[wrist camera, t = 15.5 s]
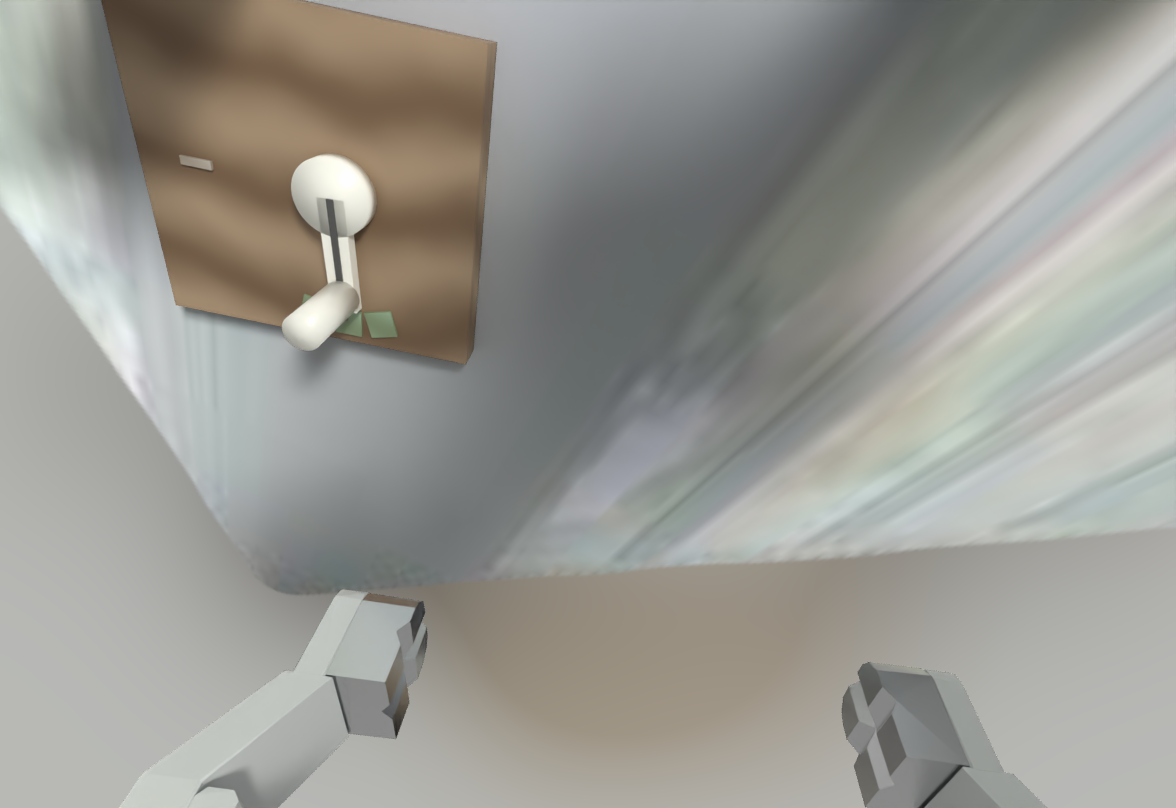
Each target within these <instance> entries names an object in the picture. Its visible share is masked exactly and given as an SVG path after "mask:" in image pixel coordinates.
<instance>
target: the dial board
mask: <svg viewBox="0 0 1176 808" xmlns="http://www.w3.org/2000/svg"><path fill="white" fill-rule="evenodd" d="M101 1H102V5H103V9H104V13H105V17H106V21H107V25H108V30H109V34H110V38H111V42H112V46H113V50H114V54H115V58H116V62H117V66H118V70H119V74H120V79H121V83H122V87H123V91H124V95H125V99H126V103H127V107H128V111H129V115H130V119H131V123H132V128H133V132H134V136H135V140H136V144H137V148H138V152H139V156H140V160H141V164H142V168H143V173H144V177H145V181H146V185H147V189H148V193H149V197H150V201H151V205H152V209H153V213H154V217H155V222H156V226H157V230H158V234H159V238H160V242H161V246H162V250H163V254H164V258H165V262H166V267H167V271H168V275H169V279H170V283H171V287H172V291H173V295H174V299H175V303H176V305H178V306H183V307H188V308H193V309H198V310H203V311H208V312H212V313H217V314H222V315H227V316H232V317H237V318H242V319H247V320H252V321H256V322H261V323H266V324H271V325H276V326H281V327H282V323H283V321H284V320H285V318H287V317H288V316H289V315H290V314H291V313H293V312H294V311H295V310H296V309H298V308H299V307H300V306H301V305H303V304H304V303H305V302H306V301H307V300H309V299H310V298H311V297H312V296H314V295H315V294H316V293H317V292H318V291H320V290H321V289H322V288H323V287H325V286H326V285H327V284H328V280H327V273H326V266H325V259H324V251H323V244H322V237H321V232H319V231H317V230H316V229H314V228H313V227H312V226H310V225H309V224H308V223H307V222H306V221H305V220H304V219H303V217H302V216H301V215H300V213H299V211H298V210H297V208H296V206H295V204H294V201H293V198H292V193H291V181H292V177H293V174H294V172H295V170H296V168H297V167H298V166H299V165H300V164H301V163H302V162H304V161H306V160H308V159H311V158H313V157H315V156H318V155H320V154H325V153H334V154H339V155H342V156H345V157H347V158H349V159H351V160H352V161H354V162H355V163H356V164H358V165H359V166H360V167H361V168H362V169H363V170H364V171H365V173H366V174H367V175H368V177H369V178H370V180H371V182H372V184H373V187H374V189H375V193H376V199H377V205H376V211H375V214H374V217H373V219H372V220H371V221H370V223H369V224H368V225H366V226H365V227H364V228H362V229H361V230H360V231H358V232H357V233H355V234H354V240H355V250H356V259H357V268H358V278H359V287H360V296H361V305H362V309H361V310H360V311H359V312H358V313H352V314H351V315H350V316H349V317H348V321H344V322H343V323H342V324H341V325H340V326H339V327H338V328H337V329H336V330H335V331H334V332H333V333H332V334H331V335H330V337H335V338H340V339H344V340H349V341H354V342H359V343H364V344H369V345H374V346H379V347H384V348H388V349H393V350H398V351H403V352H408V353H413V354H418V355H423V356H428V357H432V358H437V359H442V360H447V361H452V362H457V363H462V364H466V363H467V361H468V359H469V358H470V356H471V354H472V352H473V349H474V336H475V323H476V310H477V297H478V284H479V271H480V258H481V245H482V232H483V219H484V206H485V193H486V180H487V167H488V154H489V141H490V127H491V114H492V101H493V88H494V75H495V62H496V49H497V42H493V41H488V40H484V39H479V38H475V37H470V36H465V35H461V34H456V33H452V32H447V31H442V30H438V29H433V28H428V27H424V26H419V25H415V24H410V23H405V22H401V21H396V20H391V19H387V18H382V17H378V16H373V15H368V14H364V13H359V12H355V11H350V10H345V9H341V8H336V7H331V6H327V5H322V4H318V3H313V2H308V1H304V0H101Z"/></svg>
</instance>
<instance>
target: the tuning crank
mask: <svg viewBox="0 0 1176 808" xmlns="http://www.w3.org/2000/svg"><path fill="white" fill-rule="evenodd" d="M291 193H292V198H293V201H294V204H295V206H296V208H297V210H298V211H299V213H300V215H301V216H302V217H303V219H304V220H305V221H306V222H307V223H308V224H309V225H310V226H312V227H313V228H314V229H316V230H317V231H319V232H321V237H322V244H323V251H324V259H325V266H326V273H327V280H328V284H327V285H326V286H325V287H323V288H322V289H321V290H320V291H318V292H317V293H316V294H315V295H314V296H312V297H311V298H310V299H309V300H307V301H306V302H305V303H304V304H303V305H301V306H300V307H299V308H298V309H296V310H295V311H294V312H293V313H291V314H290V315H289V316H288V317H287V318H285V320H284V321H283V323H282V331H283V334H284V336H285V338H286V339H287V341H288V342H289V343H290V344H292V345H293V346H294V347H296V348H298V349H301V350H304V351H312V350H315V349H316V348H318V347H319V346H320V345H321V344H322V343H323V342H324V341H325V340H326V339H327V338H328V337H329V336H330V335H331V334H332V333H333V332H334V331H335V330H336V329H337V328H338V327H339V326H340V325H341V324H342V323H343V322H344V321H348V317H349V316H350V315H351V314H352V313H358V312H359V311H360V310H361V309H362V305H361V296H360V287H359V278H358V268H357V259H356V250H355V240H354V234H355V233H357V232H358V231H360V230H361V229H362V228H364V227H365V226H366V225H368V224H369V223H370V221H371V220H372V219H373V217H374V214H375V211H376V205H377V199H376V193H375V189H374V187H373V184H372V182H371V180H370V178H369V177H368V175H367V174H366V173H365V171H364V170H363V169H362V168H361V167H360V166H359V165H358V164H356V163H355V162H354V161H352V160H351V159H349V158H347V157H345V156H342V155H339V154H334V153H325V154H320V155H318V156H315V157H313V158H311V159H308V160H306V161H304V162H302V163H301V164H300V165H299V166H298V167H297V168H296V170H295V172H294V174H293V177H292V181H291Z"/></svg>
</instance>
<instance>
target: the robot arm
mask: <svg viewBox="0 0 1176 808" xmlns="http://www.w3.org/2000/svg"><path fill="white" fill-rule="evenodd" d="M424 614H425V608H424V602H423V601H418V600H412V599H404V598H398V597H391V596H385V595H377V594H371V593H367V592H360V591H352V590H345V589H342V590H341V591H340V592H339V593H338V594H337V595H336V596H335V597H334V598H333V600H332V602H331V604H330V606H329V607H328V609H327V611H326V613H325V615H324V616H323V618H322V620H321V622H320V624H319V625H318V627H317V629H316V631H315V633H314V634H313V636H312V638H311V640H310V642H309V643H308V645H307V647H306V649H305V651H304V653H303V654H302V656H301V658H300V660H299V661H298V663H297V665H296V667H295V669H294V670H293V671H288V670H285V671H283V672H282V673H280V674H279V675H278V676H276V677H275V678H273V679H272V680H271V681H269V682H268V683H267V684H265V685H264V686H263V687H261V688H260V689H259V690H257V691H256V692H254V693H253V694H251V695H250V696H249V697H247V698H246V699H244V700H243V701H242V702H240V703H239V704H238V705H236V706H235V707H233V708H232V709H231V710H229V711H228V712H227V713H225V714H224V715H222V716H221V717H220V718H218V719H217V720H215V721H214V722H213V723H211V724H210V725H209V726H207V727H206V728H204V729H203V730H202V731H200V732H199V733H197V734H196V735H195V736H193V737H192V738H191V739H189V740H188V741H186V742H185V743H184V744H182V745H181V746H180V747H178V748H177V749H175V750H174V751H173V752H171V753H170V754H169V755H167V756H166V757H164V758H163V759H162V760H160V761H159V762H157V763H156V764H155V765H153V766H152V767H151V768H149V769H148V770H147V771H145V772H144V773H143V774H142V775H141V776H140V778H139V779H138V781H137V782H136V784H135V785H134V787H133V788H132V790H131V791H130V792H129V794H128V795H127V797H126V798H125V800H124V801H123V803H122V804H121V806H120V807H119V808H278V807H279V806H280V805H281V804H282V803H283V802H284V801H285V800H286V799H287V798H288V797H289V796H290V795H291V794H292V793H293V792H294V791H295V790H296V789H297V788H298V787H299V786H300V785H301V784H302V783H303V782H304V781H305V780H306V779H307V778H308V777H309V776H310V775H311V774H312V773H313V772H314V771H315V770H316V769H317V768H318V767H319V766H320V765H321V764H322V763H323V762H324V761H325V760H326V759H327V758H328V757H329V756H330V755H331V754H332V753H333V752H334V751H335V750H336V749H337V748H338V747H339V746H340V745H341V744H342V743H343V742H344V741H345V740H346V739H347V738H348V737H349V735H348V734H356V735H357V734H358V735H365V736H374V737H383V738H391V739H396V738H397V735H398V732H399V729H400V727H401V724H402V721H403V718H404V716H405V713H406V710H407V707H408V704H409V696H408V688H407V687H408V686H409V685H411V684H412V683H413V682H414V681H415V680H417V679H418V677H419V674H420V670H421V668H422V665H423V661H424V657H425V652H426V648H427V627H426V626H425V625H424V624H423V623H422V619H423V617H424ZM858 676H859V679H860V681H859V682H857V683H855V684H852V685H850V686H849V687H848V689H847V691H846V693H845V695H844V696H843V703H842V719H843V726H844V730H845V734H846V738H847V740H848V741H849V742H850V744H851V745H852V746H853V747H854V748H855V750H856V751H857V752H858V753H859V755H858V757H857V760H856V762H855V764H854V768H855V771H856V776H857V779H858V783H859V786H860V790H861V793H862V797H863V801H864V805H865V807H867V808H1047V807H1046V806H1045V805H1044V804H1043V803H1042V802H1041V801H1040V800H1039V799H1038V798H1037V797H1036V796H1035V795H1034V794H1033V793H1032V792H1031V791H1030V790H1029V789H1028V788H1027V787H1026V786H1025V785H1024V784H1023V783H1022V782H1021V781H1020V780H1019V779H1018V778H1017V777H1016V776H1015V775H1014V774H1010V773H1005V772H1004V771H1003V769H1002V767H1001V765H1000V763H999V760H998V758H997V756H996V754H995V752H994V750H993V748H992V746H991V743H990V741H989V739H988V737H987V735H986V733H985V731H984V729H983V727H982V724H981V722H980V720H979V718H978V716H977V714H976V712H975V710H974V707H973V705H972V703H971V701H970V699H969V697H968V695H967V693H966V691H965V688H964V687H963V684H962V682H961V681H960V680H959V678H957V676H956V675H955V674H951V673H947V672H939V671H931V670H923V669H921V668H913V667H905V666H897V665H889V664H880V663H872V662H868V663H865V664H863V665H862V666H861V668H860V669H859V671H858Z"/></svg>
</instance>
